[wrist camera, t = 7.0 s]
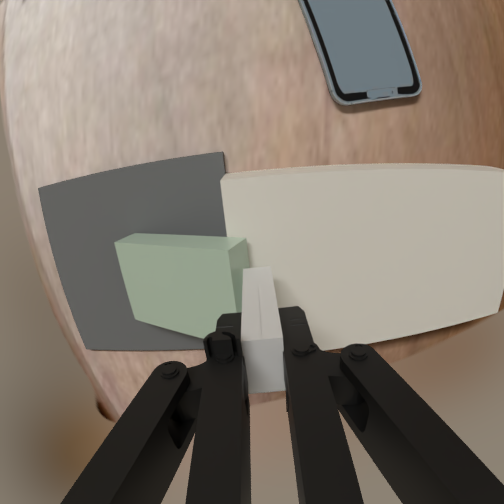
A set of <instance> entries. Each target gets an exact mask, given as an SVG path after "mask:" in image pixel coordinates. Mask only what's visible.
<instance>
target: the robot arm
mask: <svg viewBox="0 0 504 504" xmlns="http://www.w3.org/2000/svg"><path fill="white" fill-rule="evenodd" d="M203 344H204V349H205V353H206V357H207V361H206V362H204V363H202V364H200V365H198V366H194V367H190V368H187V367H186V366H185V365H184V364H183V363H181V362H178V361H169V362H165V363H163V364H161V365H159V366H158V367H156V368H155V369H154V371H153V372H152V374H151V375H150V376H149V378H148V379H147V381H146V382H145V383H144V385H143V386H142V388H141V389H140V390H139V392H138V393H137V395H136V396H135V398H134V399H133V400H132V402H131V403H130V405H129V406H128V407H127V409H126V410H125V412H124V413H123V414H122V416H121V417H120V419H119V420H118V422H117V423H116V424H115V426H114V427H113V429H112V430H111V432H110V433H109V435H108V436H107V437H106V439H105V440H104V442H103V443H102V445H101V446H100V447H99V449H98V451H97V452H96V453H95V454H94V456H93V457H92V459H91V460H90V462H89V463H88V464H87V466H86V467H85V469H84V470H83V472H82V473H81V475H80V476H79V478H78V479H77V480H76V482H75V483H74V485H73V486H72V488H71V489H70V491H69V492H68V494H67V495H66V496H65V498H64V499H63V501H62V502H61V504H161V502H162V500H163V498H164V496H165V494H166V492H167V490H168V488H169V486H170V484H171V482H172V480H173V477H174V476H175V474H176V471H177V469H178V467H179V465H180V463H181V461H182V459H183V457H184V455H185V453H186V451H187V449H188V446H189V444H190V442H191V440H192V438H193V436H194V433H195V438H194V445H193V452H192V459H191V466H190V473H189V474H190V475H189V481H188V488H187V496H186V504H251V468H250V403H249V397H248V392H249V394H252V393H265V392H275V391H285V390H286V406H287V412H288V418H289V425H290V433H291V441H292V449H293V457H294V465H295V473H296V481H297V489H298V498H299V504H364V502H363V499H362V495H361V491H360V487H359V483H358V479H357V476H356V472H355V468H354V465H353V461H352V457H351V454H350V450H349V446H348V443H347V439H346V436H345V432H344V429H343V425H342V422H341V419H340V415H339V412H338V410H339V411H340V413H341V414H342V416H343V417H344V419H345V420H346V422H347V423H348V425H349V426H350V427H351V429H352V430H353V432H354V433H355V435H356V436H357V438H358V439H359V441H360V442H361V444H362V445H363V447H364V448H365V450H366V451H367V453H368V454H369V455H370V457H371V458H372V459H373V461H374V463H375V464H376V466H377V467H378V468H379V470H380V471H381V473H382V474H383V476H384V477H385V479H386V480H387V482H388V483H389V485H390V486H391V488H392V489H393V490H394V492H395V493H396V495H397V496H398V498H399V499H400V500H401V502H402V503H403V504H504V485H503V484H502V483H501V482H500V481H499V480H498V479H497V478H496V477H495V475H494V474H493V473H492V472H491V471H490V470H489V469H488V468H487V467H486V466H485V464H484V463H483V462H482V461H481V460H480V459H479V458H478V457H477V456H476V455H475V454H474V453H473V452H472V451H471V450H470V448H469V447H468V446H467V445H466V444H465V443H464V442H463V441H462V440H461V439H460V438H459V437H458V436H457V435H456V434H455V433H454V432H453V430H452V429H451V428H450V427H449V426H448V425H447V424H446V423H445V422H444V421H443V420H442V419H441V418H440V417H439V416H438V415H437V414H436V413H435V412H434V411H433V409H431V407H430V406H429V405H428V404H427V403H426V402H425V401H424V400H423V399H422V398H421V397H420V396H419V395H418V394H417V393H416V392H415V391H414V390H413V389H412V388H411V387H410V386H409V385H408V384H407V383H406V382H405V381H404V379H403V378H402V377H400V375H399V374H397V372H396V371H395V370H394V369H393V368H392V367H391V366H390V365H389V364H388V363H387V362H386V361H385V360H384V359H383V358H382V357H381V356H380V355H379V354H378V353H377V352H376V351H375V350H374V349H373V348H371V347H370V346H368V345H365V344H357V343H356V344H351V345H348V346H346V347H344V348H343V350H342V351H341V354H340V353H329V352H325V351H322V350H320V349H319V347H318V346H317V344H315V343H314V341H313V338H312V334H311V331H310V328H309V325H308V321H307V319H306V315H305V312H304V310H302V309H301V308H300V307H299V306H293V307H283V308H278V305H277V299H276V294H275V288H274V282H273V277H272V271H271V266H267V267H256V268H246V269H243V286H242V312H238V313H226V314H222V315H221V316H220V317H219V318H218V320H217V324H216V330H215V331H214V332H212V333H209V334H208V335H207V336H206V337H205V338H204V340H203Z"/></svg>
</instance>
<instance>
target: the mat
mask: <svg viewBox="0 0 504 504" xmlns="http://www.w3.org/2000/svg"><path fill="white" fill-rule="evenodd" d="M224 175H225V165H224V156H223V152H216V153H209V154H201V155H194V156H187V157H180V158H174V159H168V160H162V161H156V162H150V163H145V164H139V165H134V166H129V167H124V168H119V169H114V170H109V171H105V172H100V173H96V174H91V175H87V176H83V177H79V178H75V179H71V180H67V181H63V182H59V183H55V184H51V185H48V186H44V187H41V188H38V190H39V196H40V201H41V206H42V211H43V216H44V220H45V225H46V229H47V233H48V237H49V241H50V245H51V249H52V253H53V256H54V260H55V263H56V267H57V270H58V273H59V277H60V280H61V283H62V286H63V289H64V292H65V295H66V298H67V301H68V304H69V307H70V309H71V312H72V315H73V317H74V320H75V323H76V325H77V328H78V330H79V333H80V335H81V338H82V340H83V343H84V345H85V347H86V349H92V350H185V349H204V344H203V340H204V339H203V338H199V337H195V336H191V335H188V334H184V333H180V332H177V331H173V330H169V329H166V328H162V327H159V326H156V325H152V324H149V323H145V322H142V321H139V320H136V319H135V317H134V314H133V311H132V307H131V304H130V301H129V297H128V294H127V290H126V287H125V283H124V279H123V276H122V272H121V268H120V264H119V260H118V256H117V252H116V248H115V243H114V242H116V241H118V240H121V239H123V238H125V237H127V236H129V235H132V234H134V233H145V234H171V235H195V236H218V237H227V233H226V225H225V217H224V209H223V201H222V192H221V184H220V180H221V179H222V178H223V176H224Z"/></svg>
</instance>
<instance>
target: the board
mask: <svg viewBox="0 0 504 504" xmlns="http://www.w3.org/2000/svg"><path fill="white" fill-rule="evenodd" d="M220 184H221V192H222V201H223V209H224V217H225V225H226V233H227V237H239V238H246V240H247V249H248V258H249V266H250V268H256V267H267V266H271V271H272V277H273V282H274V288H275V294H276V299H277V305H278V308H283V307H293V306H299V307H300V308H301V309H302V310H304V312H305V315H306V319H307V321H308V325H309V328H310V331H311V334H312V338H313V341H314V343H315V344H317V346H318V347H319V349H320V350H322V351H324V350H331V349H338V348H344V347H346V346H348V345H351V344H356V343H357V344H369V343H374V342H380V341H385V340H390V339H395V338H400V337H405V336H410V335H414V334H419V333H423V332H427V331H432V330H436V329H440V328H444V327H448V326H452V325H456V324H460V323H463V322H467V321H471V320H474V319H478V318H481V317H485V316H488V315H491V314H495V313H498V309H499V305H500V302H501V298H502V294H503V290H504V169H499V168H495V167H490V166H479V165H459V164H424V163H381V164H345V165H323V166H306V167H291V168H278V169H267V170H256V171H246V172H236V173H227V174H225V175H224V176H223V178H222V179H221V180H220Z"/></svg>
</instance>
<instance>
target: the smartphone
mask: <svg viewBox="0 0 504 504" xmlns="http://www.w3.org/2000/svg"><path fill="white" fill-rule="evenodd" d="M298 2H299V5H300V7H301V10H302V12H303V15H304V18H305V20H306V23H307V26H308V28H309V31H310V34H311V37H312V40H313V42H314V45H315V48H316V51H317V54H318V57H319V60H320V63H321V66H322V69H323V73H324V76H325V79H326V82H327V85H328V89H329V92H330V95H331V97H332V98H333V100H334V101H335V102H337V103H338V104H341V105H354V104H360V103H367V102H373V101H381V100H389V99H397V98H406V97H413V96H416V95H418V94H419V93H420V92H421V89H422V82H421V78H420V75H419V72H418V68H417V65H416V62H415V59H414V56H413V53H412V50H411V47H410V45H409V42H408V39H407V36H406V34H405V31H404V29H403V26H402V24H401V21H400V19H399V16H398V14H397V11H396V9H395V7H394V5H393V2H392V0H298Z"/></svg>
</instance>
